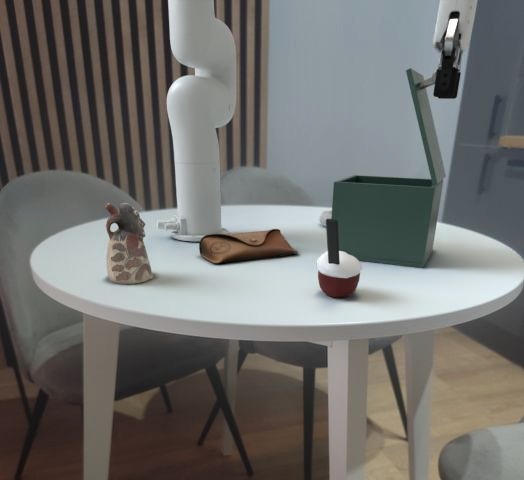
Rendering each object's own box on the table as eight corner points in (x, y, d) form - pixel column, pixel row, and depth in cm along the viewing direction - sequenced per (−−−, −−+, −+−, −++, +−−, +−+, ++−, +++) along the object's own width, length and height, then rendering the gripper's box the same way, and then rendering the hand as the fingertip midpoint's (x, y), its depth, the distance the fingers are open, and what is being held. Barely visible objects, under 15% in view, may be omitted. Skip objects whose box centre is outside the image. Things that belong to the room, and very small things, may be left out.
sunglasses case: (216, 263, 88) (208, 227, 89) (204, 274, 95) (196, 240, 95) (301, 252, 96) (293, 219, 97) (284, 263, 103) (277, 232, 103)
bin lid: (405, 70, 79) (438, 55, 76) (418, 77, 91) (447, 65, 88) (432, 185, 83) (464, 175, 81) (441, 177, 96) (469, 169, 93)
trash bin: (328, 257, 96) (333, 181, 90) (348, 242, 108) (353, 175, 102) (422, 267, 89) (434, 187, 83) (432, 250, 101) (443, 179, 96)
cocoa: (340, 284, 80) (346, 207, 75) (371, 293, 75) (380, 213, 70) (298, 296, 74) (301, 213, 69) (329, 307, 70) (335, 220, 65)
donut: (320, 230, 120) (362, 230, 120) (321, 215, 118) (363, 215, 118) (317, 222, 129) (356, 222, 129) (317, 209, 127) (357, 208, 127)
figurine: (154, 282, 79) (148, 205, 74) (108, 285, 78) (98, 206, 72) (150, 270, 86) (144, 198, 81) (107, 273, 84) (98, 199, 79)
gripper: (445, -19, 85) (428, 99, 93) (433, -48, 71) (414, 95, 78) (492, -22, 82) (471, 100, 90) (490, -53, 68) (465, 95, 76)
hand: (445, 96), depth 84 cm, fingers closed on bin lid, 5 cm apart
